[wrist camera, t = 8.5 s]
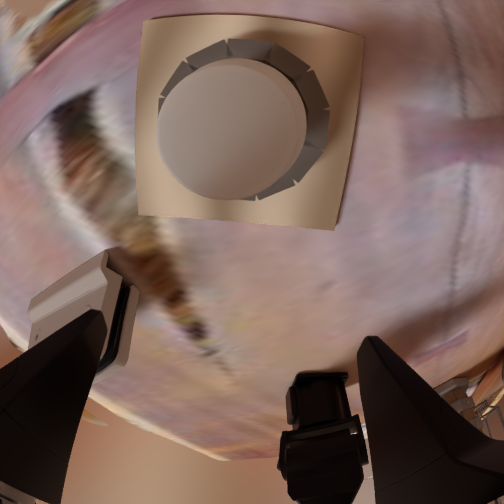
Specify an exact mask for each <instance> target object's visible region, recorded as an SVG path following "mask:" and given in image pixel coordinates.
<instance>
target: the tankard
mask: <svg viewBox="0 0 504 504" xmlns="http://www.w3.org/2000/svg"><path fill="white" fill-rule="evenodd" d="M468 384H469V381H468V379H467V377H463V378H454V379H450V380H448V381H447V382H445V383H443V384H441V385H439V386H438V387H436V388H434V390H435V391H436V392H437V393H438V394H439V395H440V396H441V398H443V399H444V400H445V401H446V402H447V403H448V404H449V405H451V406H452V407H453V408H454V409H455V410H456V411H457V412H458V413H459V414H460V415H462V416H463V417H464V418H465V419H466V420H468V421H469V422H470V423H471V424H473V425H474V426H475V427H476V428H477V429H479V430H480V431H481V432H482V430H481V429H482V428H483V426H484V425H483V423H482V420H481V418H480V417H476V415H475V412H474V410H473V409H474V407H475V403H474V401H473V399H472V397H471V396H470V397H468V396H467V394H466V390H467V387H468Z"/></svg>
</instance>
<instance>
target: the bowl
mask: <svg viewBox="0 0 504 504" xmlns="http://www.w3.org/2000/svg"><path fill="white" fill-rule="evenodd" d="M502 380H503V383H504V361H503V366H502Z"/></svg>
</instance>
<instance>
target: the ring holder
mask: <svg viewBox="0 0 504 504" xmlns="http://www.w3.org/2000/svg"><path fill="white" fill-rule="evenodd" d="M364 39H365V37H363V36H360V35H356V34H353V33H349V32H346V31H342V30H338V29H334V28H330V27H325V26H321V25H316V24H311V23H306V22H300V21H294V20H287V19H279V18H270V17H260V16H245V15H194V16H180V17H169V18H160V19H153V20H146V21H144V23H143V30H142V37H141V45H140V53H139V63H138V75H137V90H136V113H135V160H136V185H137V200H138V213H139V215H147V216H165V217H181V218H196V219H210V220H223V221H236V222H248V223H260V224H271V225H282V226H292V227H303V228H312V229H322V230H331V231H334V228H335V224H336V220H337V216H338V211H339V207H340V202H341V198H342V193H343V188H344V183H345V178H346V173H347V168H348V163H349V157H350V152H351V146H352V140H353V134H354V128H355V121H356V114H357V107H358V100H359V92H360V83H361V74H362V64H363V53H364ZM230 58H243V59H251V60H255V61H259V62H261V63H264V64H266V65H269V66H271V67H272V68H274V69H276V70H277V71H279V72H280V73H282V74H283V75H284V76H285V77H286V78H287V79H288V80H289V81H290V82H291V83H292V84H293V86H294V87H295V89H296V90H297V92H298V93H299V95H300V97H301V100H302V102H303V105H304V109H305V113H306V122H307V128H306V136H305V141H304V144H303V147H302V150H301V152H300V154H299V156H298V158H297V159H296V161H295V162H294V164H293V165H292V166H291V168H290V169H289V170H288V171H287V172H286V173H285V174H284V175H283V176H281V177H280V178H279V179H278V180H277V181H276V182H275V183H273V184H272V185H271V186H270V187H268V188H267V189H265V190H263V191H261V192H260V193H258V194H255V195H253V196H250V197H246V198H243V199H237V200H216V199H211V198H207V197H203V196H201V195H198V194H196V193H194V192H192V191H190V190H189V189H187V188H186V187H184V186H183V185H182V184H180V183H179V182H178V181H177V180H176V179H175V178H174V177H173V176H172V175H171V173H170V172H169V171H168V169H167V168H166V166H165V164H164V163H163V161H162V158H161V156H160V153H159V150H158V145H157V138H156V126H157V120H158V116H159V112H160V110H161V107H162V105H163V103H164V101H165V99H166V97H167V96H168V94H169V93H170V92H171V90H172V89H173V88H174V87H175V86H176V85H177V84H178V83H179V82H180V81H181V80H183V79H184V78H185V77H187V76H188V75H190V74H191V73H193V72H194V71H196V70H197V69H199V68H201V67H203V66H205V65H207V64H209V63H212V62H215V61H218V60H223V59H230Z"/></svg>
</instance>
